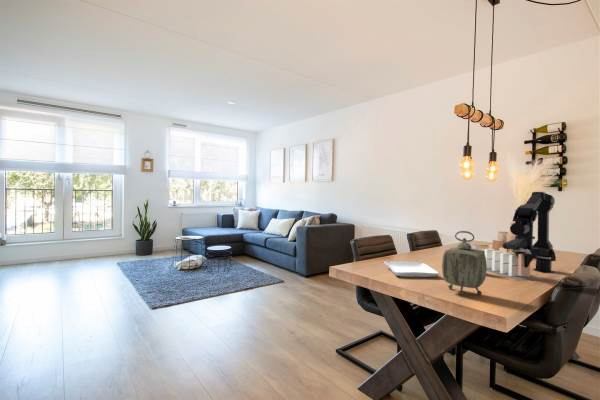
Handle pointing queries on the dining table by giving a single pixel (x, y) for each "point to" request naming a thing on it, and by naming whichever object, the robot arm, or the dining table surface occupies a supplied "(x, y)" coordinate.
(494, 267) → the domino
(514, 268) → the domino
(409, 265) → the salad plate
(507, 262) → the domino
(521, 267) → the domino
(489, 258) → the domino
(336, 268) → the dining table surface
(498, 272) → the mat
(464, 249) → the tabletop clock
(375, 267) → the dining table surface
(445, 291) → the dining table surface
